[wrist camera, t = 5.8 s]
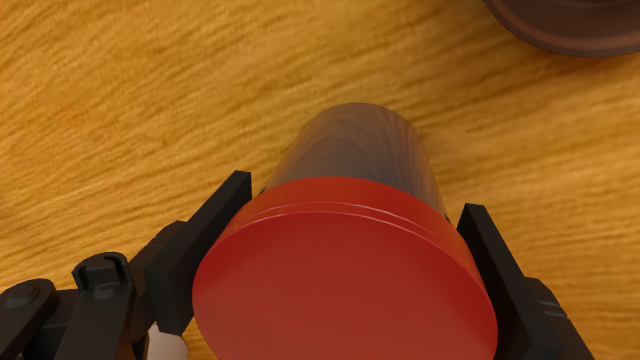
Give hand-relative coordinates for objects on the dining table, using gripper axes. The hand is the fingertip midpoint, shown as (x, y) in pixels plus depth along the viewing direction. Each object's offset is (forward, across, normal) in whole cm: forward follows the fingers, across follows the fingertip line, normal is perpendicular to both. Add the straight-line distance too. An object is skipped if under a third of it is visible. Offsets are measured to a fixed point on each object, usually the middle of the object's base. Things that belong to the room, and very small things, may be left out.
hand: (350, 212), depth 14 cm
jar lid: (-6, 0, 0) cm, 6 cm away
